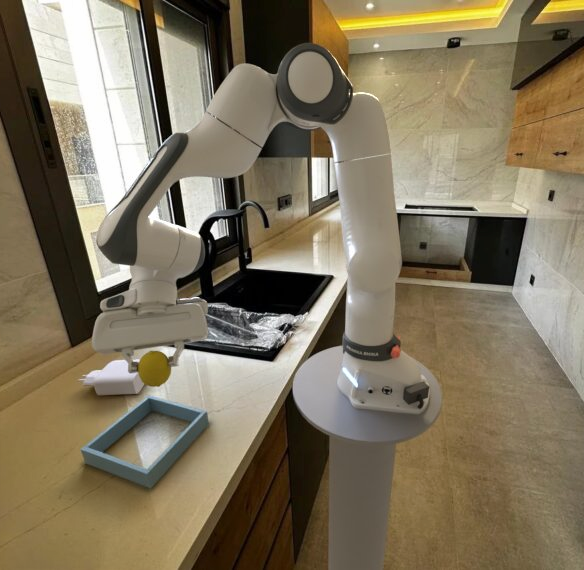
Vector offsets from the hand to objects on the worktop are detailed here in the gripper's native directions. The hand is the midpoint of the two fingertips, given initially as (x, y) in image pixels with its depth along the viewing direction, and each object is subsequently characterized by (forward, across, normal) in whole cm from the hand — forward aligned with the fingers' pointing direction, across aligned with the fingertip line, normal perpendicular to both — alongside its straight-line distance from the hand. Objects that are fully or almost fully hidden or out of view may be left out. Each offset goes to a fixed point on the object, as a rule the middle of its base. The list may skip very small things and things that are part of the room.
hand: (153, 369), depth 62 cm
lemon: (+3, 0, -4) cm, 5 cm away
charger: (-3, +15, -26) cm, 30 cm away
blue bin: (+12, +3, -10) cm, 16 cm away
